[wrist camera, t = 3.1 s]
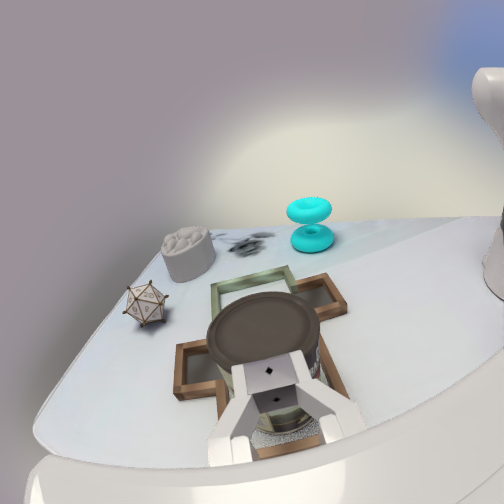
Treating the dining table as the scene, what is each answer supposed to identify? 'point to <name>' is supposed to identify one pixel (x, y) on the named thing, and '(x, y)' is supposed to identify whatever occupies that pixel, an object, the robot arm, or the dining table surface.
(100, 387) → the dining table surface
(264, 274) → the brown wooden frame
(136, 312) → the game die
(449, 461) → the robot arm
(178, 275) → the lumpy-topped squat cylinder
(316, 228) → the donuts
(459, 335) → the dining table surface
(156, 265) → the dining table surface
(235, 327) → the coffee can
